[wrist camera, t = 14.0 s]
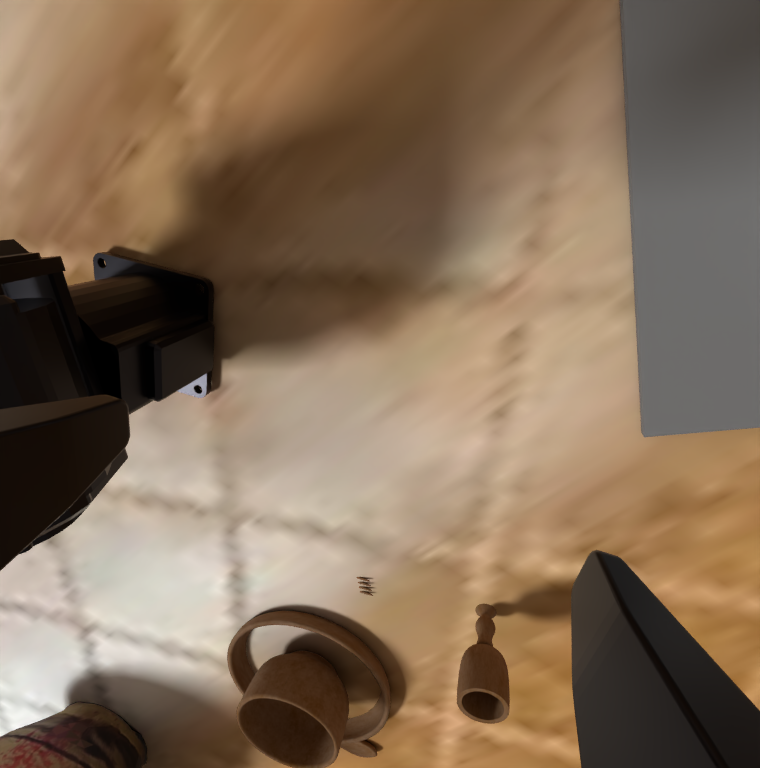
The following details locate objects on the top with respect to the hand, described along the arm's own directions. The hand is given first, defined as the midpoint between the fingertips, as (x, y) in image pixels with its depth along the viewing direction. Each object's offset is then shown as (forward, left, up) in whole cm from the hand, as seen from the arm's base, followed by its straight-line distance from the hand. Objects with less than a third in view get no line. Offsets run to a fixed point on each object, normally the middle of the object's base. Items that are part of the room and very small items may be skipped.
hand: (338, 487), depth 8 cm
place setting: (+1, -25, -14) cm, 29 cm away
